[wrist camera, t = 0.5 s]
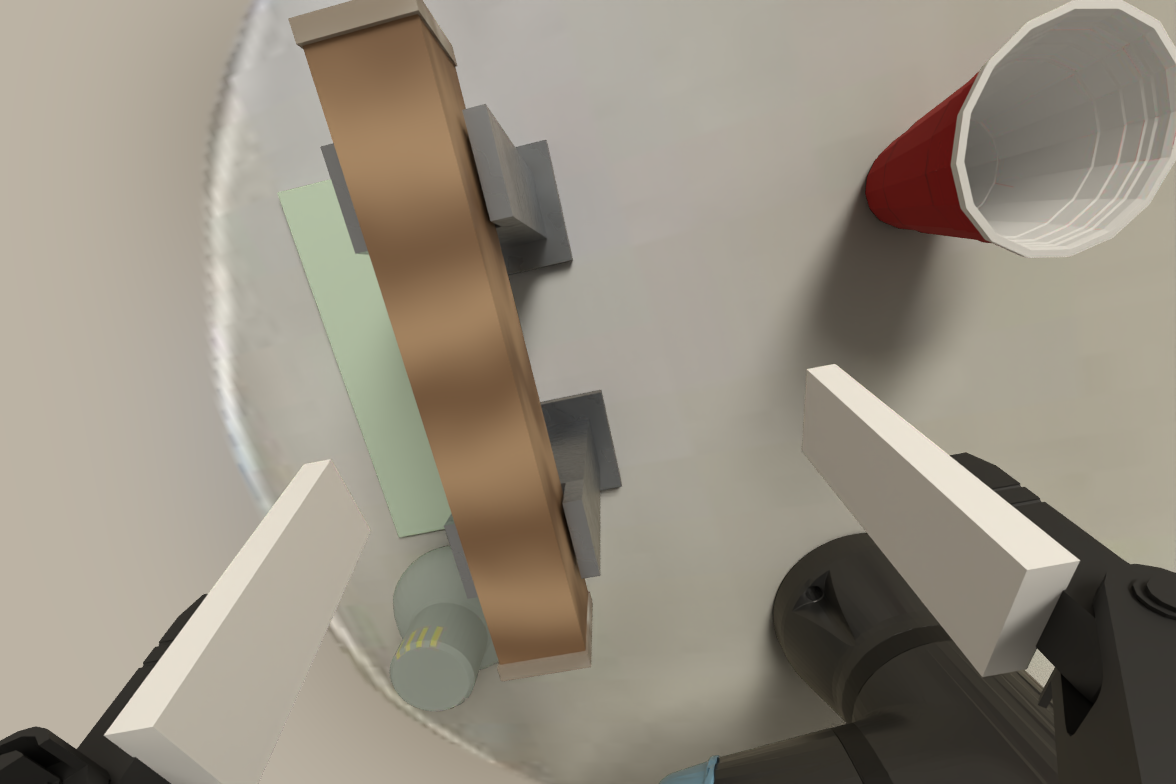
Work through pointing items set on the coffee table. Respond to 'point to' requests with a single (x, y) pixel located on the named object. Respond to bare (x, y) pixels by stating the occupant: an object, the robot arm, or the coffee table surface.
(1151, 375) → the coffee table surface
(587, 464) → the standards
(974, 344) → the coffee table surface
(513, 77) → the coffee table surface
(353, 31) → the rail
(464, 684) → the air freshener
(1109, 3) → the plastic cup
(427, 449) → the mat
